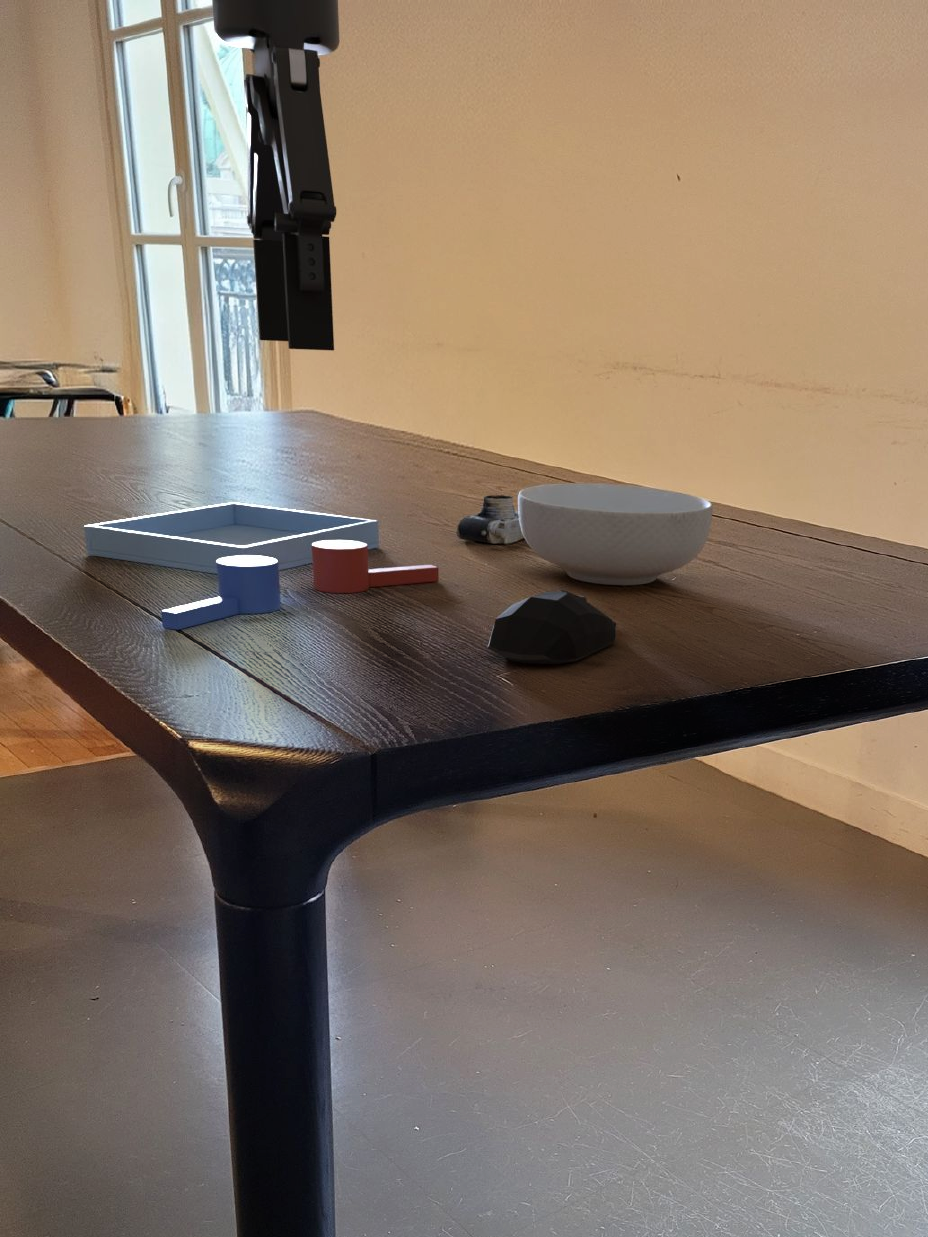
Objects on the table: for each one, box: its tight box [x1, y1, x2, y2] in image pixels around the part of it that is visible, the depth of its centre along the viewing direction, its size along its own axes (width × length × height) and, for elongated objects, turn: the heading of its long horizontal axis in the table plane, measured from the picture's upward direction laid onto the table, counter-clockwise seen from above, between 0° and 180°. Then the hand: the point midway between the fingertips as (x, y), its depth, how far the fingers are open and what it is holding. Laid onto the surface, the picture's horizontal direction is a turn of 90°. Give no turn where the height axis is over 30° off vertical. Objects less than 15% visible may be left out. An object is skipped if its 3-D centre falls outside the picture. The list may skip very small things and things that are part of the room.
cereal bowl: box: [517, 482, 714, 586], centre depth 114 cm, size 17×17×7 cm
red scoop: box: [312, 540, 440, 594], centre depth 106 cm, size 11×4×4 cm, turn 126°
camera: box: [455, 494, 525, 545], centre depth 131 cm, size 5×10×4 cm, turn 152°
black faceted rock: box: [487, 589, 617, 665], centre depth 90 cm, size 6×15×4 cm, turn 154°
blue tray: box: [83, 502, 380, 575], centre depth 118 cm, size 17×19×2 cm
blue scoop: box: [160, 556, 282, 631], centre depth 94 cm, size 11×4×4 cm, turn 156°
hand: (294, 345), depth 87 cm, fingers open, 13 cm apart
